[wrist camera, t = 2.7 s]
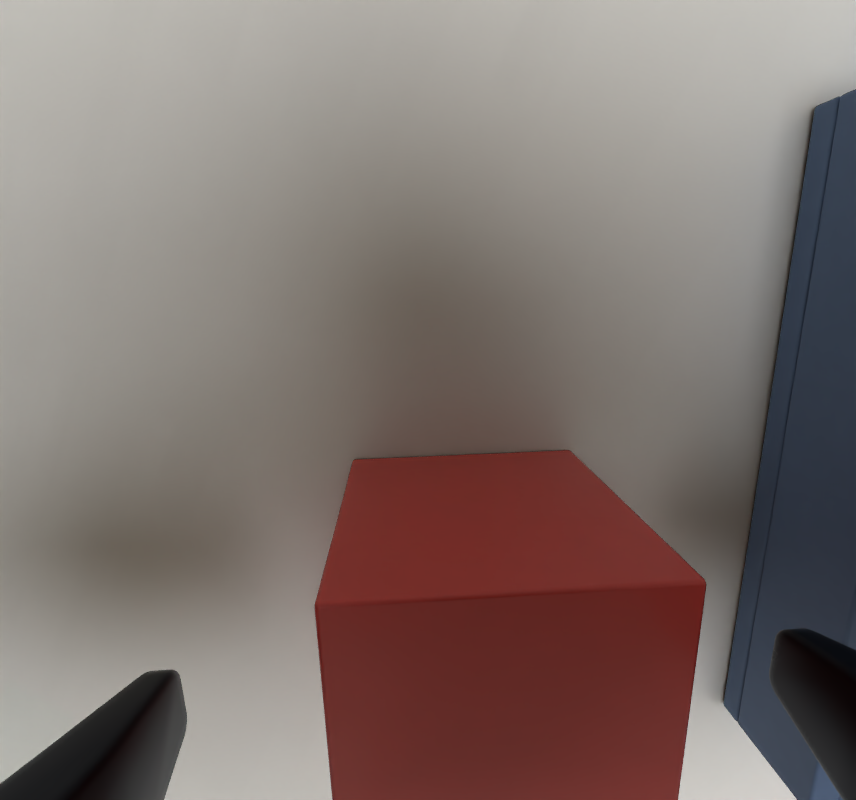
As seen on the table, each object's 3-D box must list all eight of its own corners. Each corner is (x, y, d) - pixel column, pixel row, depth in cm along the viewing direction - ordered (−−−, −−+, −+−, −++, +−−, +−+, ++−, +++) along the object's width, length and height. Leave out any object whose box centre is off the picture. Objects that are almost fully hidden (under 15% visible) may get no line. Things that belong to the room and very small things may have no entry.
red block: (364, 646, 11) (341, 900, 6) (352, 458, 10) (313, 604, 5) (561, 633, 11) (671, 869, 6) (570, 449, 10) (709, 581, 5)
